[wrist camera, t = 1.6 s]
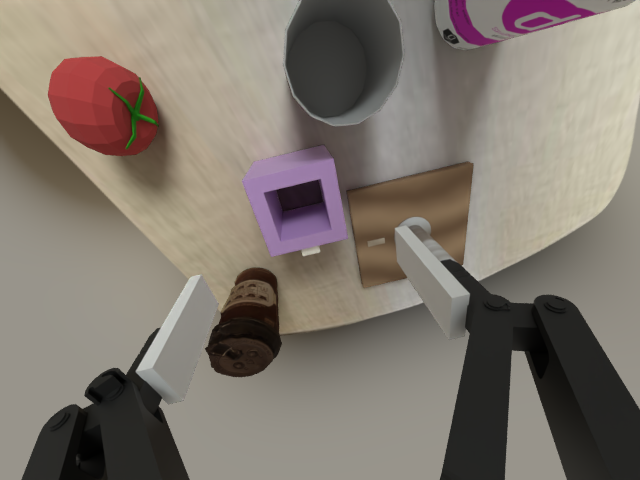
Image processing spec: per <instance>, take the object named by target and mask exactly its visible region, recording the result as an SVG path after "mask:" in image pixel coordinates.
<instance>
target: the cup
mask: <svg viewBox="0 0 640 480" xmlns="http://www.w3.org/2000/svg"><path fill="white" fill-rule="evenodd" d="M404 55H405V53H404V44H403V34H402V25H401V19H400V18H399V16H398V14H397V12H396V11H395V9H394V7H393V5H392V3H391V2H390V0H299V2H298V4H297V6H296V8H295V10H294V13H293V15H292V17H291V19H290V21H289V23H288V25H287V27H286V29H285V43H284V61H283V66H284V70H285V74H286V78H287V81H288V84H289V87H290V90H291V93H292V96H293V98H294V99H295V100H296V101H297V103H298V104H299V105H300V106H301V107H302V108H303V109H304V111H305V112H306V113H307V114H309V115H310V116H311V117H313V118H315V119H317V120H320V121H322V122H324V123H327V124H329V125H332V126H334V127H335V126H345V125H355V124H359V123H361V122H363V121H364V120H366V119H367V118H369V117H370V116H372V115H374V114H375V113H377V112H378V111H380V110H381V108H382V107H383V105H384V104H385V103H386V101H387V100H388V98H389V97H390V95H391V94H392V92H393V91H394V89H395V88H396V86H397V83H398V79H399V75H400V71H401V67H402V63H403V59H404Z"/></svg>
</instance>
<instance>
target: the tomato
mask: <svg viewBox="0 0 640 480" xmlns="http://www.w3.org/2000/svg"><path fill="white" fill-rule="evenodd" d="M48 97H49V101H50V104H51V107H52V110H53V113H54V115H55V117H56V118H57V120H58V121H59V122H60V124H61V125H62V126H63V128H64V129H65V130H66V131H67V133H68V134H69V135H70V137H72V138H73V139H75V140H77V141H78V142H80V143H81V144H83V145H85V146H86V147H88V148H90V149H93V150H95V151H98V152H100V153H103V154H105V155H115V156H127V155H136V154H138V153H140V152H142V151H143V150H145V149H147V148H148V146H149V145H150V143H151V142H152V140H153V138H154V137H155V135H156V133H157V127H159V125H158V115H157V108H156V105H155V103H154V101H153V98H152V96H151V94H150V92H149V90H148V89H147V87H146V86H145V85H144V84H143V82H142V81H141V78H140V77H139V78H138V76H137V75H136V74H135V73H133V72H131V71H129V70H127V69H125V68H123V67H121V66H120V65H118V64H116V63H114V62H112V61H110V60H108V59H106V58H104V57H102V56H100V57H79V58H70V59H64V60H63V61H62V62H61V64H60V65H59V66H58V67H57V68H56V69H55V70H54V71H53V72H52V75H51V79H50V84H49V91H48Z"/></svg>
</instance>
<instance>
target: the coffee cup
mask: <svg viewBox="0 0 640 480" xmlns="http://www.w3.org/2000/svg"><path fill="white" fill-rule="evenodd" d="M281 344H282V342H281V339H280V335H279V316H278V292H277V279H276V277H275V275H274V274H273V273H271V272H270V271H269V270H266V269H263V268H250V269H247V270H245V271H243V272H242V273H240V274H239V275H238V276H237V279H236V281H235V286H234V287H233V288H232V290H231V293H230V295H229V297H228V299H227V301H226V303H225V305H224V307H223V309H222V311H221V319H220V322H219V324H218V325H217V326H215V327H214V329H213V330H212V333H211V336H210V340H209V344H208V347H206V348H205V350H206V352H207V353H208V355H209V358H210V361H211V367H212V368H214V370H215V371H216V372H217V373H221V374H223V375H228V376H232V377H246V376H252V375H254V374H257V373H259V372H261V371H263V370H264V369H265V368H266V367H267V366H268V365H269V364H270V363H271V362H272V361H273V359H274V358H275V357H276V356H277V355H278V353H279V350H280V347H281Z"/></svg>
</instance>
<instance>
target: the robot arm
mask: <svg viewBox="0 0 640 480" xmlns="http://www.w3.org/2000/svg"><path fill="white" fill-rule="evenodd" d="M395 241H396V255H397V262H398V264H399V265H400V267H401V268H402V270H403V271H404V273H405V275H406V276H407V278H408V279H409V281H410V282H411V284H412V285H413V287H414V288H415V290H416V291H417V293H418V294H419V296H420V297H421V299H422V300H423V302H424V303H425V305H426V306H427V308H428V309H429V311H430V312H431V314H432V315H433V317H434V318H435V320H436V321H437V323H438V324H439V326H440V327H441V329H442V330H443V332H444V334H445V335H446V336H447V338H448V339H449V340H451V339H455V338H459V337H464V336H465V330H466V329H467V330H468V332H469V333H470V335H469V340H468V346H467V350H466V355H465V360H464V365H463V370H462V375H461V380H460V385H459V390H458V395H457V400H456V404H455V410H454V415H453V419H452V425H451V429H450V434H449V439H448V444H447V449H446V454H445V459H444V464H443V469H442V474H441V477H440V480H505V463H506V445H507V427H508V408H509V390H510V371H511V354H512V350H514V351H524V352H525V354H526V357H527V361H528V364H529V366H530V370H531V373H532V375H533V378H534V382H535V385H536V388H537V391H538V394H539V397H540V400H541V403H542V406H543V409H544V412H545V415H546V418H547V420H548V424H549V427H550V430H551V433H552V436H553V439H554V442H555V445H556V448H557V451H558V454H559V457H560V460H561V463H562V466H563V469H564V472H565V475H566V478H567V480H640V409H639V408H638V406H637V404H636V403H635V401H634V399H633V398H632V396H631V395H630V393H629V391H628V390H627V388H626V386H625V385H624V383H623V382H622V380H621V378H620V377H619V375H618V373H617V372H616V370H615V369H614V367H613V365H612V364H611V362H610V360H609V359H608V357H607V355H606V354H605V352H604V351H603V349H602V347H601V346H600V344H599V342H598V341H597V339H596V338H595V336H594V334H593V332H592V331H591V329H590V328H589V326H588V324H587V323H586V321H585V320H584V318H583V316H582V315H581V313H580V311H579V310H578V308H577V307H576V306H575V305H574V304H573V303H571V302H570V301H568V300H567V299H564V298H561V297H558V296H554V295H541V296H538V297H537V298H536V299H535V300H534V303H533V304H528V303H525V304H524V303H510V302H509V301H508V300H507V299H505V298H503V297H501V296H498V295H493V294H490V293H489V292H488V291H487V290H486V289H485V288H484V287H483V286H482V285H481V284H480V283H479V282H478V281H477V280H476V279H475V278H474V277H473V276H471V275H470V274H469V273H468V272H467V271H466V270H465V269H464V268H463V267H462V266H461V265H460V264H459V263H457V262H455V261H453V260H451V259H447V260H442V261H439V260H438V259H437V258H436V257H435V256H434V255H433V254H432V253H431V252H430V250H429V249H428V248H427V247H426V246H425V245H424V244H423V243H422V242H421V241H420V240H419V239H418V238H417V236H416V235H415V234H414V233H413V232H412V231H411V230H410V229H409V228H408V227H407V226H406V225H405V226H401V227H397V228H395ZM218 305H219V303H218V302H217V300H216V298H215V296H214V295H213V293H212V291H211V290H210V288H209V286H208V284H207V283H206V281H205V279H204V278H203V276H202V274H200V275H196V276H192V277H190V279H189V280H188V282H187V284H186V285H185V287H184V289H183V291H182V292H181V294H180V296H179V297H178V299H177V301H176V303H175V305H174V306H173V308H172V310H171V311H170V313H169V315H168V316H167V318H166V320H165V322H164V323H163V325H162V327H161V328H157V329H156V330H155V331H154V332H153V333H152V334H151V335H150V336H149V338H148V340H147V341H146V343H145V345H144V347H143V348H142V350H141V351H140V354H139V355H138V356H137V358H136V359H135V361H134V363H133V364H132V366H131V368H130V369H129V371H128V372H127V374H126V375H125V374H124V373H123V372H121V370H120V369H118V368H112V369H109V370H107V371H105V372H103V373H102V374H100V375H99V376H98V377H96V378H95V379H94V380H93V381H92V382H91V383H90V384H89V386H88V387H87V389H86V391H85V397H87V398H88V399H89V400H90V401H92V402H93V403H94V404H91V405H90V406H88V407H86V408H84V409H82V408H80V407H79V406H77V405H76V404H75V405H74V404H73V405H69V406H67V407H65V408H63V409H62V410H60V411H59V412H57V413H56V414H55V415H54V416H52V417H51V418H50V419H49V420H48V422H47V423H46V424H45V425H44V426H43V428H42V430H41V432H40V434H39V436H38V439H37V441H36V444H35V447H34V449H33V452H32V454H31V457H30V459H29V462H28V464H27V467H26V470H25V472H24V475H23V477H22V480H190V479H189V477H188V474H187V472H186V469H185V467H184V464H183V462H182V459H181V457H180V454H179V451H178V449H177V446H176V444H175V442H174V439H173V436H172V434H171V431H170V429H169V426H168V424H167V421H166V419H165V416H164V413H163V411H162V410H161V408H160V407H159V404H160V401H161V399H163V400H164V401H165V402H167V403H168V404H173V403H177V402H181V401H184V399H185V396H186V393H187V390H188V387H189V385H190V382H191V379H192V376H193V374H194V371H195V368H196V365H197V363H198V359H199V357H200V354H201V351H202V349H203V346H204V343H205V341H206V338H207V335H208V332H209V329H210V327H211V324H212V321H213V318H214V316H215V313H216V310H217V307H218Z"/></svg>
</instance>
